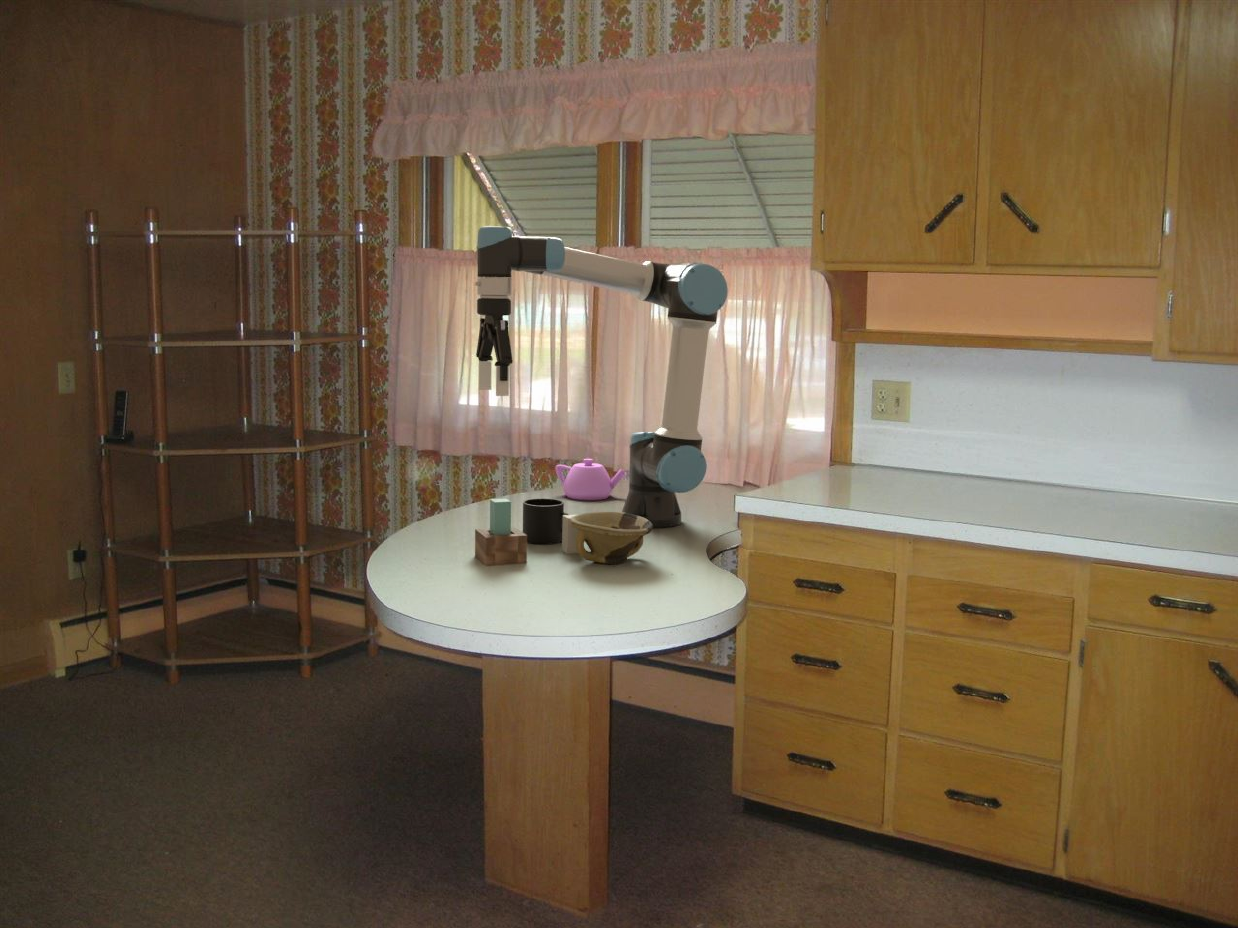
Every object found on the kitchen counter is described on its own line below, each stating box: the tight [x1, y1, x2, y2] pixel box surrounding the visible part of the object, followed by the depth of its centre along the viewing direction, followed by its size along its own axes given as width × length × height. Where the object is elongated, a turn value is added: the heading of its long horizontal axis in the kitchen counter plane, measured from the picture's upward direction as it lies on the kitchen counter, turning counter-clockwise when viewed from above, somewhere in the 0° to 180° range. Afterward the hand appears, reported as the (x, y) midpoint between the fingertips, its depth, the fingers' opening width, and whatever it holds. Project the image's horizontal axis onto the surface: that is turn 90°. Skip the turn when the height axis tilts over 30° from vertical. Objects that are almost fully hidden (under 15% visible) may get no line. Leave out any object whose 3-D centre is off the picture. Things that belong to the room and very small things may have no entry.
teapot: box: [555, 458, 627, 501], centre depth 336 cm, size 14×20×11 cm
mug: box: [522, 498, 570, 545], centre depth 280 cm, size 9×12×9 cm
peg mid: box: [561, 514, 579, 555], centre depth 270 cm, size 4×4×8 cm
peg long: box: [489, 498, 512, 535], centre depth 260 cm, size 4×4×13 cm
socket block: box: [474, 526, 528, 566], centre depth 261 cm, size 9×9×6 cm
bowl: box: [570, 511, 653, 565], centre depth 261 cm, size 18×18×10 cm
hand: (493, 392), depth 271 cm, fingers open, 13 cm apart
